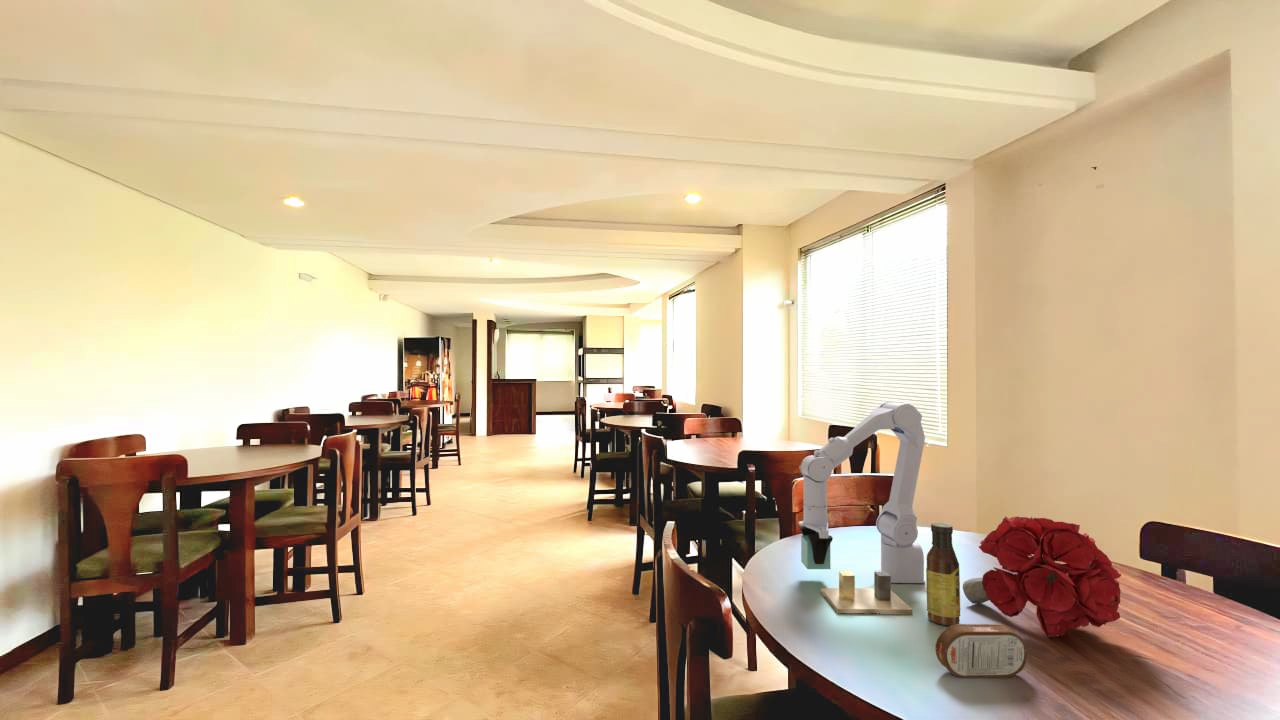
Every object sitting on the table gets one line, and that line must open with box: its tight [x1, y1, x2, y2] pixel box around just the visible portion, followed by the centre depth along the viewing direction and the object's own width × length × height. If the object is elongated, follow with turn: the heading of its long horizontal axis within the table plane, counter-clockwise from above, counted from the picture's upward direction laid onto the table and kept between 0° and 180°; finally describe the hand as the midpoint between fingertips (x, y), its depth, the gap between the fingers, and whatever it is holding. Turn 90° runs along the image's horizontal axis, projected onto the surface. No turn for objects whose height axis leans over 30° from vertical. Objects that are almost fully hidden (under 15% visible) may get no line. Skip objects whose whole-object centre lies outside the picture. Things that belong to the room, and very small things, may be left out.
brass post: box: [838, 571, 856, 600], centre depth 132 cm, size 3×3×6 cm
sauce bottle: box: [925, 522, 961, 627], centre depth 123 cm, size 6×6×20 cm
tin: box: [934, 623, 1029, 679], centre depth 101 cm, size 15×3×8 cm, turn 92°
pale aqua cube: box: [800, 534, 831, 570], centre depth 146 cm, size 6×6×7 cm
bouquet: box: [962, 515, 1122, 638], centre depth 121 cm, size 22×24×30 cm
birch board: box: [820, 571, 913, 615], centre depth 132 cm, size 16×12×6 cm
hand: (815, 559), depth 146 cm, fingers closed on pale aqua cube, 6 cm apart
